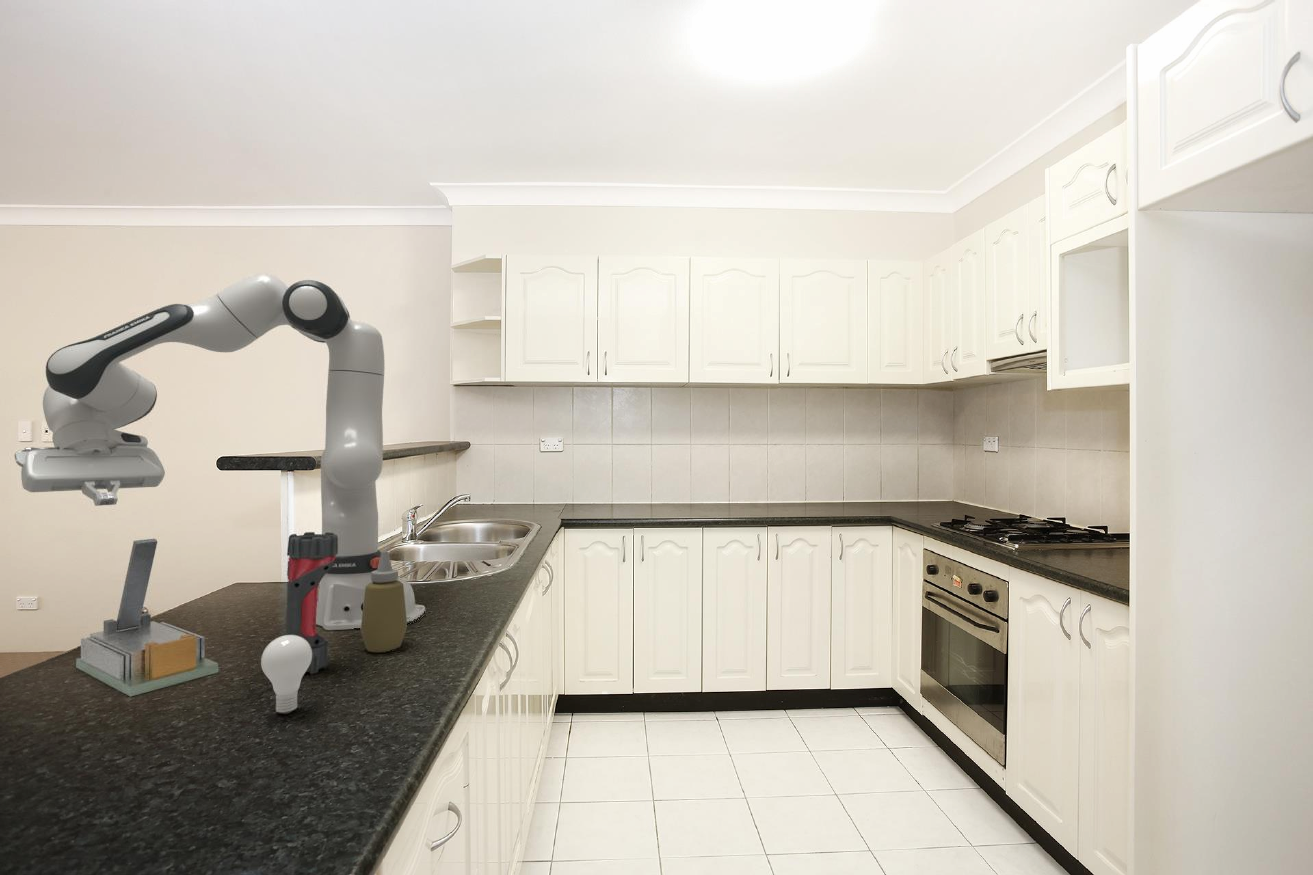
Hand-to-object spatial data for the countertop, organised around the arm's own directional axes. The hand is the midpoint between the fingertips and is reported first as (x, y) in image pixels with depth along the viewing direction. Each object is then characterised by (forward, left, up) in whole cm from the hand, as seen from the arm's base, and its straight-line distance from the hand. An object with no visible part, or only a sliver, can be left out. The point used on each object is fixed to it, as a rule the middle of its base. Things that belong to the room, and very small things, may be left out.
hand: (106, 503), depth 118 cm
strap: (-11, +8, -13) cm, 19 cm away
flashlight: (-41, +10, -27) cm, 51 cm away
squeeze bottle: (-49, -1, -27) cm, 56 cm away
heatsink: (-14, +10, -27) cm, 32 cm away
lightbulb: (-46, +27, -27) cm, 60 cm away
